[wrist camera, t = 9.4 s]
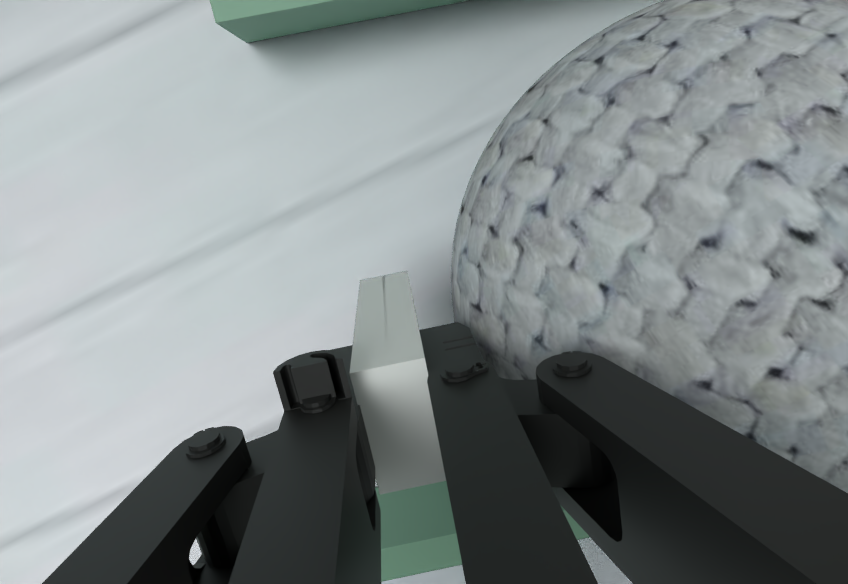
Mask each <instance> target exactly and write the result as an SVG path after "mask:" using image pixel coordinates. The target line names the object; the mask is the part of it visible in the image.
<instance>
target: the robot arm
mask: <svg viewBox="0 0 848 584" xmlns="http://www.w3.org/2000/svg"><path fill="white" fill-rule="evenodd" d="M273 374H274V377H275V381H276V384H277V388H278V391H279V394H280V398H281V401H282V405H283V408H284V414H283V417H282V420H281V423H280V426H279V429H278V430H277V431H275V432H273V433H270V434H268V435H266V436H263V437H261V438H258V439H255V440H253V441H250V442H247V443H246V441H245V438H244V435H243V432H242V430H241V429H239V428H237V427H233V426H222V427H217V428H214V427H212V428H208V429H205V431H203V430H202V431H200V432H197V433H195V434H194V436H192V437H190V438H188V439H186V440H184V441H183V442H182V443H181V444H179V445H178V446H177V447H176V448H174V449H173V450H172V451H171V452H170V453H169V454H168V455H167V456H166V457H165V458H164V459H163V460H162V461H161V463H160V464H159V465H158V466H157V467H156V468H155V469H154V470H153V471H152V472H151V473H150V474H149V475H148V476H147V477H146V478H145V479H144V480H143V481H142V482H141V483H140V484H139V485H138V486H137V487H136V488H135V489H134V490H133V491H132V492H131V493H130V494H129V495H128V496H127V497H126V498H125V499H124V500H123V501H122V502H121V503H120V504H119V505H118V506H117V508H116V509H115V510H114V511H113V512H112V513H111V514H110V515H109V516H108V517H107V518H106V519H105V520H104V521H103V522H102V523H101V524H100V525H99V526H98V527H97V528H96V529H95V530H94V531H93V532H92V533H91V534H90V535H89V536H88V537H87V538H86V539H85V540H84V541H83V542H82V543H81V544H80V545H79V546H78V547H77V548H76V549H75V550H74V551H73V553H72V554H71V555H70V556H69V557H68V558H67V559H66V560H65V561H64V562H63V563H62V564H61V565H60V566H59V567H58V568H57V569H56V570H55V571H54V572H53V573H52V574H51V575H50V576H49V577H48V578H47V579H46V580H45V581H44V582H43V583H42V584H381V510H380V506H379V502H378V498H377V494H376V490H375V477H376V481H377V485H378V489H379V493H380V495H381V494H385V493H390V492H395V491H399V490H404V489H409V488H414V487H418V486H423V485H428V484H433V483H437V482H442V481H446V482H447V487H448V493H449V498H450V503H451V508H452V513H453V519H454V524H455V529H456V534H457V539H458V544H459V550H460V555H461V560H462V565H463V570H464V576H465V581H466V584H598V583H597V581H596V579H595V577H594V575H593V572H592V570H591V568H590V566H589V564H588V562H587V560H586V558H585V556H584V554H583V552H582V550H581V547H580V545H579V543H578V541H577V539H576V537H575V535H574V533H573V531H572V529H571V527H570V525H569V522H568V520H567V518H566V516H565V514H564V512H563V510H562V508H561V506H562V507H563V508H564V509H565V510H566V511H567V513H568V514H569V515H570V516H571V517H572V518H573V519H574V520H575V521H576V522H577V523H578V524H579V526H580V527H581V528H582V529H583V530H584V531H585V532H586V533H587V534H588V535H589V536H590V537H591V539H592V540H593V541H594V542H595V543H596V544H597V545H598V546H599V547H600V548H601V549H602V550H603V552H604V553H605V554H606V555H607V556H608V557H609V558H610V559H611V560H612V561H613V562H614V563H615V565H616V566H617V567H618V568H619V569H620V570H621V571H622V572H623V573H624V574H625V575H626V576H627V578H628V579H629V580H630V581H631V582H632V583H633V584H848V493H846V492H845V491H843V490H841V489H839V488H837V487H836V486H834V485H832V484H830V483H828V482H827V481H825V480H823V479H821V478H819V477H818V476H816V475H814V474H812V473H810V472H809V471H807V470H805V469H803V468H801V467H800V466H798V465H796V464H794V463H792V462H791V461H789V460H787V459H785V458H784V457H782V456H780V455H778V454H776V453H775V452H773V451H771V450H769V449H767V448H766V447H764V446H762V445H760V444H758V443H757V442H755V441H753V440H751V439H749V438H748V437H746V436H744V435H742V434H740V433H739V432H737V431H735V430H733V429H731V428H730V427H728V426H726V425H724V424H722V423H721V422H719V421H717V420H715V419H713V418H712V417H710V416H708V415H706V414H704V413H703V412H701V411H699V410H697V409H695V408H694V407H692V406H690V405H688V404H686V403H685V402H683V401H681V400H679V399H677V398H676V397H674V396H672V395H670V394H668V393H667V392H665V391H663V390H661V389H659V388H658V387H656V386H654V385H652V384H651V383H649V382H647V381H645V380H643V379H642V378H640V377H638V376H636V375H634V374H633V373H631V372H629V371H627V370H625V369H624V368H622V367H620V366H618V365H616V364H615V363H613V362H611V361H609V360H607V359H606V358H604V357H601V356H598V355H596V354H593V353H584V352H581V351H572V352H571V351H569V352H563V353H561V354H558V355H554V356H551V357H549V358H547V359H545V360H543V361H542V362H541V363H540V364H539V365H538V366H537V368H536V379H534V380H511V379H505V378H501V377H499V376H498V374H497V372H496V370H495V368H494V367H493V366H492V365H491V364H490V363H489V362H487V361H484V359H483V357H482V355H481V353H480V350H479V348H478V346H477V344H476V342H475V339H474V337H473V335H472V333H471V331H470V328H469V327H467V326H465V325H463V324H461V323H459V322H456V323H451V324H447V325H442V326H437V327H432V328H427V329H422V330H419V326H418V322H417V317H416V312H415V307H414V302H413V297H412V292H411V287H410V282H409V277H408V273H407V271H403V272H399V273H394V274H389V275H384V276H379V277H374V278H369V279H364V280H360V284H359V293H358V302H357V311H356V320H355V329H354V338H353V345H352V346H347V347H342V348H338V349H333V350H321V351H314V352H309V353H305V354H302V355H298V356H296V357H294V358H291V359H289V360H287V361H285V362H284V363H282V364H281V365H279V366H278V367H277V368H276V369H275V371H274V372H273ZM560 505H561V506H560ZM195 538H196V539H197V542H198V544H199V547H200V550H201V552H202V555H201V557H200V558H199V559H198V561H197V562H196V564H194V565H192V564H191V563H190V560H189V553H190V549H191V547H192V545H193V542H194V540H195Z"/></svg>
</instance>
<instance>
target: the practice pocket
mask: <svg viewBox="0 0 848 584" xmlns="http://www.w3.org/2000/svg"><path fill="white" fill-rule="evenodd" d="M464 1H469V0H210V3H211V7H212V11H213V14H214V18H215V22H216V23H217V24H218V25H220V26H221V27H223V28H225V29H226V30H228V31H229V32H231V33H232V34H234V35H235V36H237V37H238V38H240V39H242V40H243V41H245V42H246V43H248V42H254V41H259V40H264V39H269V38H275V37H280V36H285V35H290V34H296V33H301V32H306V31H311V30H317V29H322V28H327V27H332V26H338V25H343V24H348V23H353V22H359V21H364V20H369V19H374V18H380V17H385V16H390V15H395V14H401V13H406V12H411V11H416V10H422V9H427V8H432V7H437V6H443V5H448V4H453V3H458V2H464ZM375 490H376V494H377V498H378V502H379V506H380V510H381V582H382V581H387V580H392V579H396V578H401V577H406V576H410V575H415V574H420V573H424V572H429V571H434V570H439V569H443V568H448V567H453V566H457V565H462V560H461V555H460V550H459V544H458V539H457V534H456V529H455V524H454V519H453V513H452V508H451V503H450V498H449V493H448V487H447V482H446V481H442V482H437V483H433V484H428V485H423V486H418V487H414V488H409V489H404V490H399V491H395V492H390V493H385V494H381V495H380V493H379V489H378V487H375ZM560 506H561V505H560ZM561 508H562V510H563V512H564V514H565V516H566V518H567V520H568V522H569V525H570V527H571V529H572V531H573V533H574V535H575V537H576V539H577V540H579V539H584V538H589V537H590V536H589V535H588V534H587V533H586V532H585V531H584V530H583V529H582V528H581V527H580V526H579V524H578V523H577V522H576V521H575V520H574V519H573V518H572V517H571V516H570V515H569V514H568V513H567V511H566V510H565V509H564V508H563V507H562V506H561Z"/></svg>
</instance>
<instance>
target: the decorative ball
mask: <svg viewBox="0 0 848 584" xmlns="http://www.w3.org/2000/svg"><path fill="white" fill-rule="evenodd" d="M451 291H452V306H453V313H454V320H455V323H456V322H459V323H461V324H463V325H465V326H467V327H469V328H470V331H471V333H472V335H473V337H474V339H475V342H476V344H477V346H478V348H479V350H480V353H481V355H482V357H483V359H484V361H487V362H489V363H490V364H491V365H492V366H493V367H494V368H495V370H496V372H497V374H498V376H499V377H501V378H505V379H511V380H534V379H536V368H537V366H538V365H539V364H540V363H541V362H542V361H543V360H545V359H547V358H549V357H551V356H554V355H558V354H561V353H563V352H569V351H571V352H572V351H581V352H584V353H593V354H596V355H598V356H601V357H604V358H606V359H607V360H609V361H611V362H613V363H615V364H616V365H618V366H620V367H622V368H624V369H625V370H627V371H629V372H631V373H633V374H634V375H636V376H638V377H640V378H642V379H643V380H645V381H647V382H649V383H651V384H652V385H654V386H656V387H658V388H659V389H661V390H663V391H665V392H667V393H668V394H670V395H672V396H674V397H676V398H677V399H679V400H681V401H683V402H685V403H686V404H688V405H690V406H692V407H694V408H695V409H697V410H699V411H701V412H703V413H704V414H706V415H708V416H710V417H712V418H713V419H715V420H717V421H719V422H721V423H722V424H724V425H726V426H728V427H730V428H731V429H733V430H735V431H737V432H739V433H740V434H742V435H744V436H746V437H748V438H749V439H751V440H753V441H755V442H757V443H758V444H760V445H762V446H764V447H766V448H767V449H769V450H771V451H773V452H775V453H776V454H778V455H780V456H782V457H784V458H785V459H787V460H789V461H791V462H792V463H794V464H796V465H798V466H800V467H801V468H803V469H805V470H807V471H809V472H810V473H812V474H814V475H816V476H818V477H819V478H821V479H823V480H825V481H827V482H828V483H830V484H832V485H834V486H836V487H837V488H839V489H841V490H843V491H845V492H846V493H848V0H664V1H661V2H659V3H656V4H654V5H651V6H649V7H647V8H644V9H642V10H640V11H638V12H636V13H634V14H631V15H629V16H627V17H625V18H624V19H622V20H620V21H618V22H616V23H614V24H612V25H611V26H609V27H607V28H605V29H604V30H602V31H600V32H599V33H597V34H595V35H594V36H592V37H591V38H589V39H588V40H586V41H585V42H583V43H582V44H581V45H579V46H578V47H576V48H575V49H574V50H572V51H571V52H570V53H568V54H567V55H566V56H565V57H563V58H562V59H561V60H560V61H558V62H557V63H556V64H555V65H554V66H552V67H551V68H550V69H549V70H548V71H547V72H546V73H544V74H543V75H542V76H541V77H540V78H539V79H538V80H537V81H536V82H535V83H534V84H533V85H532V86H531V87H530V88H529V89H528V90H527V91H526V92H525V94H524V95H523V96H522V97H521V98H520V99H519V100H518V102H517V103H516V104H515V105H514V106H513V108H512V109H511V110H510V112H509V113H508V114H507V115H506V117H505V118H504V119H503V121H502V122H501V124H500V125H499V126H498V128H497V129H496V131H495V132H494V134H493V136H492V137H491V139H490V140H489V142H488V144H487V146H486V148H485V149H484V151H483V153H482V155H481V157H480V159H479V161H478V163H477V165H476V167H475V169H474V172H473V174H472V176H471V179H470V181H469V183H468V186H467V189H466V192H465V195H464V198H463V200H462V204H461V208H460V211H459V215H458V219H457V223H456V229H455V235H454V241H453V251H452V263H451Z"/></svg>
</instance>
